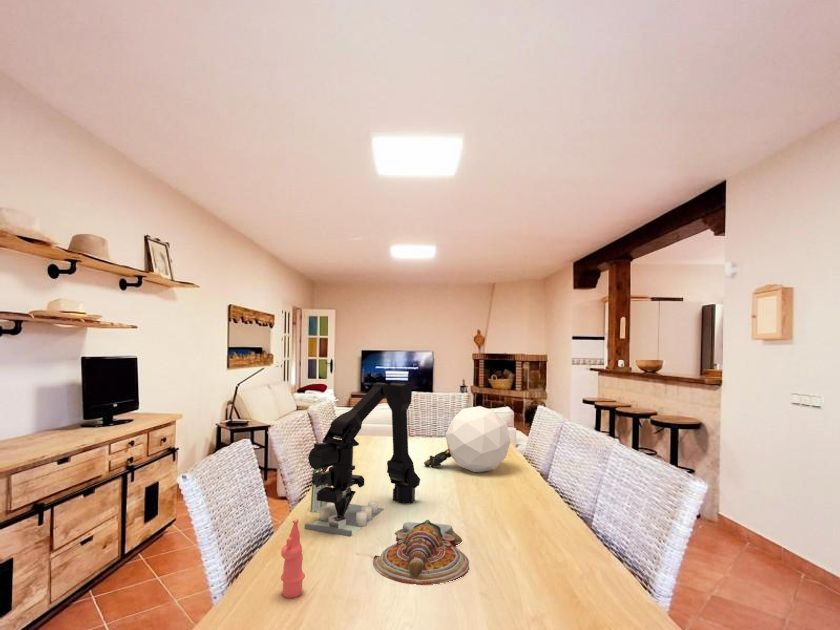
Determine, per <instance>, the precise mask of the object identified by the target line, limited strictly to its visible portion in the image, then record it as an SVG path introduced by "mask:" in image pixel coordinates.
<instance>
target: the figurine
mask: <svg viewBox="0 0 840 630" xmlns="http://www.w3.org/2000/svg"><path fill="white" fill-rule="evenodd" d="M299 522H300V521H299V519H297V518H296V519H293V520H292V523H293V525H292V528H291V530H290V533H289V535H288V538H287V539H286V544H285V545H283V547H281V550H280V551H281V552H280V555H281V557H282V558H283V559H284V561H283V569H282V570H283V571H282V574H281V576H280V580H281V582H282V596H283V597H285V598H289V599H291V598H297V597H299V596H301V595H302V594H303V582H304V581H303V580H304V579H305V578H306V574H305V572H303V561H304V560H303V559H304V557H303V547H302V544H301V534H300V530H299V526H298V525H299Z"/></svg>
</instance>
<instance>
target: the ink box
mask: <svg viewBox="0 0 840 630" xmlns="http://www.w3.org/2000/svg"><path fill="white" fill-rule="evenodd" d="M317 472H321V473H322V468H320V469H312V475H313V474H314V473H317ZM324 487H332V486H327V484H324V485H321V486H319V487H316V486H315V485H313V483H312V482H311V495H310V496H311V497H310V513H318V514H320V510H321V507H323V506H326V505H327V503H330V502H323V501H317V500H316V497H317V492H318V491H319V490H321V489H323V488H324Z"/></svg>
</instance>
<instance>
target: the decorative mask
mask: <svg viewBox="0 0 840 630" xmlns="http://www.w3.org/2000/svg"><path fill="white" fill-rule="evenodd" d="M394 535H395V536H396V538H395V541H396V543H394V544H392V545H390V546H387V547H386V548H385V549H384V550H382V552H381V554H380V555H374V556H373V558H372V566H373V569H374V570H375V571H376V572H377V573H378V574H379V575H380V576H382V577H384V578H386V579H389V580H392V581H394V582H398V583H402V584H406V585H407V584H408V585H413V584H416V586H434V585H433V584H438V585H441V584H440V583H444V584H446V583H445V582H449V581H453V580H456V579H458V578H460V577H462V576H463V577H465V576H466V575H467V574H466V573H469V571H470V568H469V563H470V560H469V558H468V556H467V555H466V554H465V553H464V552H462V551H461V550H460V549H458V548H457V547H455V546H456V545H458V544H460V543H461V542H462V541H463V539H462V537H461V536H460V535H458V534H457V533H456V532H455V531H454V529H453V526H452V525H451V524H443V523H442V524H441V523H433V522H431V521H430V520H429V519H426V520H424V521H423V522H415V521H414V522H412V521H411V522H410V521H406V522H404V523H403V525H402V528H401V529H399V530H397V531H395V532H394ZM468 570H469V571H468ZM465 574H466V575H465ZM464 575H465V576H464ZM463 577H462V578H463ZM460 579H461V578H460ZM458 580H459V579H458ZM456 581H457V580H456ZM453 582H454V581H453ZM449 583H450V582H449Z"/></svg>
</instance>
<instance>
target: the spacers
mask: <svg viewBox="0 0 840 630" xmlns="http://www.w3.org/2000/svg"><path fill="white" fill-rule="evenodd" d="M363 506H364V507H362V508H361V511H359V512H357V513H356V526H360V527H362V526H363V527H365V526H367V524H368V523H367V521H369V520H370V521H371V520H372V519H371V515H374V514H377V508H378V501H377V500H369V501H367V505H363ZM347 509H348V508H347ZM319 515H320V517H319V519H320V520H322V521H328V517H331V516H334V515H336V508H335V504H334V503H327V505H326V506H323V507H321V510H320V513H319ZM370 521H369V522H370ZM363 527H362V528H363Z"/></svg>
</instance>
